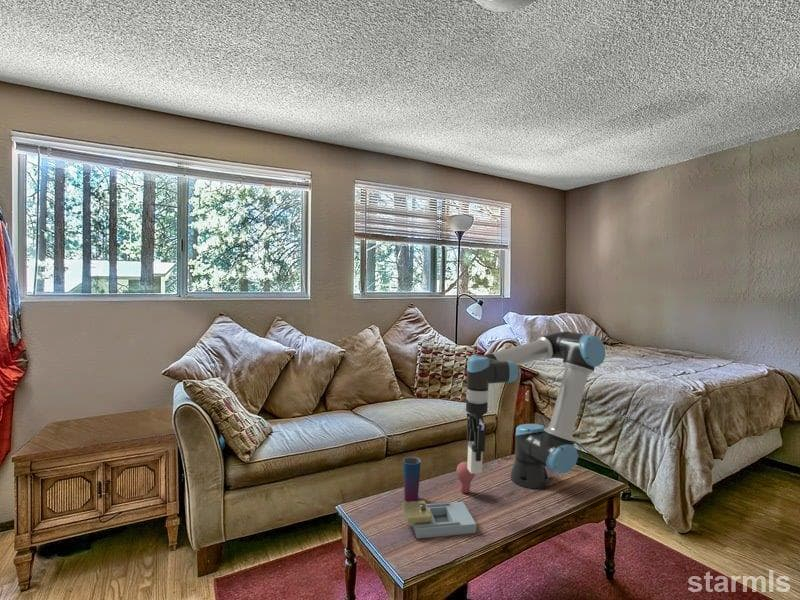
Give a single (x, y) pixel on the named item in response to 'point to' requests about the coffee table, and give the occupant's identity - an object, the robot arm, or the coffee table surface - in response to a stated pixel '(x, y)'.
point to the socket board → (446, 521)
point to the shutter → (416, 513)
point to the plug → (470, 458)
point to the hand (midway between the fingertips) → (474, 466)
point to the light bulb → (464, 477)
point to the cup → (411, 478)
